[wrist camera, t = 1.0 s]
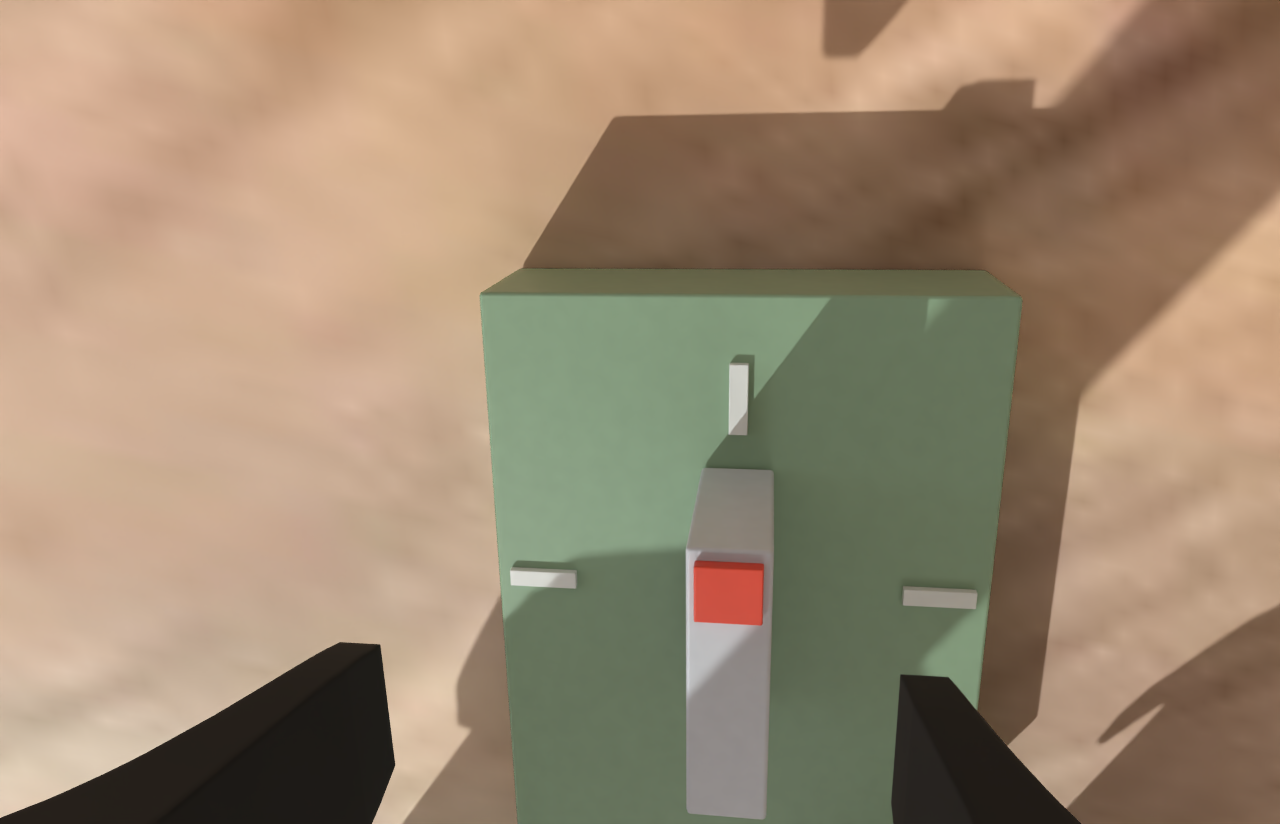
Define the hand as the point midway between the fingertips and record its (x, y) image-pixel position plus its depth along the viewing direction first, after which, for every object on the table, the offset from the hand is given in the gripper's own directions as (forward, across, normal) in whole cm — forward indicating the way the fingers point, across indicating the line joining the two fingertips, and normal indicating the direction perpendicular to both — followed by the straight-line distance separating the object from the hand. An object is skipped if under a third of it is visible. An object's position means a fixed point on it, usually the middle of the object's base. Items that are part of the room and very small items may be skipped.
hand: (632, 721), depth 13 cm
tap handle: (+6, -1, +1) cm, 6 cm away
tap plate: (+9, -1, +2) cm, 10 cm away
